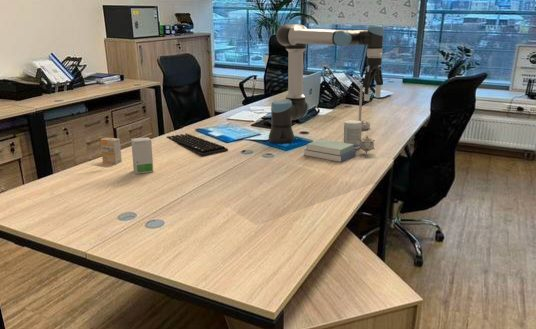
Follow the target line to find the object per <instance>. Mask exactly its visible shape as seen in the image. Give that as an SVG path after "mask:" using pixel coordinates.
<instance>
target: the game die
mask: <svg viewBox="0 0 536 329" xmlns="http://www.w3.org/2000/svg"><path fill="white" fill-rule="evenodd" d="M359 141H360V148H359V149H358V150H362V151H364V152H365V154H367V153H368V152H370V151H372V150H375V146H374V144H375V141H376V140H375V139H372V138H371V137H369V136H368V135H366V137H364V138H361V140H359Z"/></svg>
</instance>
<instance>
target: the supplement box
mask: <svg viewBox="0 0 536 329" xmlns="http://www.w3.org/2000/svg"><path fill="white" fill-rule="evenodd" d="M99 140H100V148H101V157H102V158H101V159H102V163H103V164H109V165H116V166H117V165H118V164H121V163H122V162H123V160H122V151H121V149H122V148H121V139H120V138H115V137H102V138H100V139H99Z"/></svg>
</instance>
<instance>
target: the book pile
mask: <svg viewBox="0 0 536 329" xmlns="http://www.w3.org/2000/svg"><path fill="white" fill-rule="evenodd" d="M356 151H357V149H354V144H349V143H344V141H342V142H341V141H335V140H330V139H329V140H328V139H324V138H323V139H321V138H320V139H317V140H314V141H311V142H309V143H306V148H305V149H304V151H303V152H304V154H303V155H304V156H307V157H312V158H317V159H322V160H328V161H334V162H340V163H342V162H345V161H347V160H349V159H351V158H353V157H356V154H357V152H356Z"/></svg>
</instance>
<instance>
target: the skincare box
mask: <svg viewBox="0 0 536 329" xmlns="http://www.w3.org/2000/svg"><path fill="white" fill-rule="evenodd" d="M130 140H131V141H130V142H131V153H132V166H133V168H132V169H133V172H134V173H135V174H136V175H138V174H148V173H154V163H153V162H154V161H153V160H154V159H153V158H154V157H153V147H152V139H151V138H150V137H136V138H131V139H130Z"/></svg>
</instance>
